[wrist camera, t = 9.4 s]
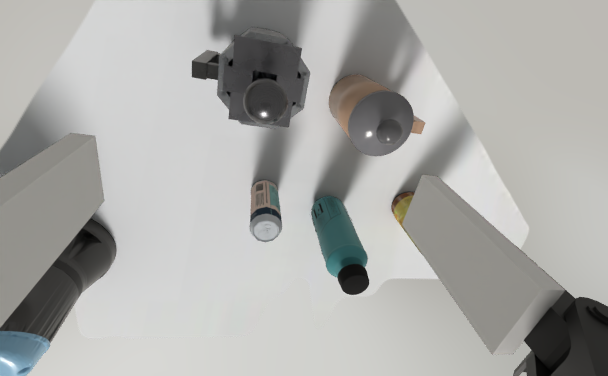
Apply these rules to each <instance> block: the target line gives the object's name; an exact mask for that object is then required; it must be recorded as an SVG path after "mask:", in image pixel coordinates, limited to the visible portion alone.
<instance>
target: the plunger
mask: <svg viewBox="0 0 608 376" xmlns="http://www.w3.org/2000/svg"><path fill="white" fill-rule="evenodd" d="M276 78H277V75H276V74H270V73H264V72H259V71H253V78H252V83H251V84H250V85H249V86H248V87H247V89H246V91H245V93H244V97H243V105H244V109H245V111H246V113H247V114H248V116H249V117H250V118H251V119H252V120H254V121H255V122H257V123H260V124H273V123H275V122H277V121H279V120H280V119H281V118H282V117H283V116H284V114H285V112H286V110H287V106H288V99H287V95H286V92H285V90H284V89H283V87H282V86H281V85H280V84H279V83H277V82H276Z"/></svg>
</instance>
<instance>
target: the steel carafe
mask: <svg viewBox="0 0 608 376" xmlns="http://www.w3.org/2000/svg"><path fill="white" fill-rule="evenodd" d="M301 51H302V48H299V47H294V46H293V45H292V43H291V42H290V40H289V39H288V38H286V37H285V36H284V35H282V34H281V33H280V32H275V31H271V30H268V29H263V28H256V27H251V28H250V29H248V30H247V31H246V32H244V33H243V34H241V35H240V36H238V35H235V39H234V42H232V43H231V44H230V45H229V46H228V47H227V48H226V49H225V50H224V52H223V53H222V54H220V53H218V52H215V51H209V50H207V51H205V52H204V53H203V54H201V55H200V56H198V57H197V58H195V59H194V60H193V61H192V77H194V78H200V79H207V78H209V79H215V80H218V89H217V96H218V97H219V98H220V99H221V100H222V102H223V103H224V104H225V105H226V106H227V108H228V109H229V119H233V120H238V121H239V122H240V123H242V124H245V125H252V126H259V127H267V128H274V129H275V128H277V127H279V126H283V127H289V122H290V118H291V117H293V116H294V115H295V114H297V113H298V112H300V111H301V110H302V109H303V108H304V103H305V98H306V93H307V87H308V82H309V76H310V71H309V70H308V68H307V67H306V65H305V64H304V62H303V60H302V59H301ZM253 71H259V72H264V73H270V74H276V75H277V78H276V82H277V83H279V84H280V85H281V86H282V87H283V89H284V90H285V92H286V95H287V99H288V106H287V110H286V112H285V114H284V116H283V117H282V118H281V119H280V120H279V121H277V122H275V123H273V124H260V123H257V122H255V121H254V120H252V119H251V118H250V117H249V116H248V114H247V113H246V111H245V109H244V105H243V97H244V93H245V91H246V89H247V87H248V86H249V85H250V84H251V83H252V78H253Z"/></svg>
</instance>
